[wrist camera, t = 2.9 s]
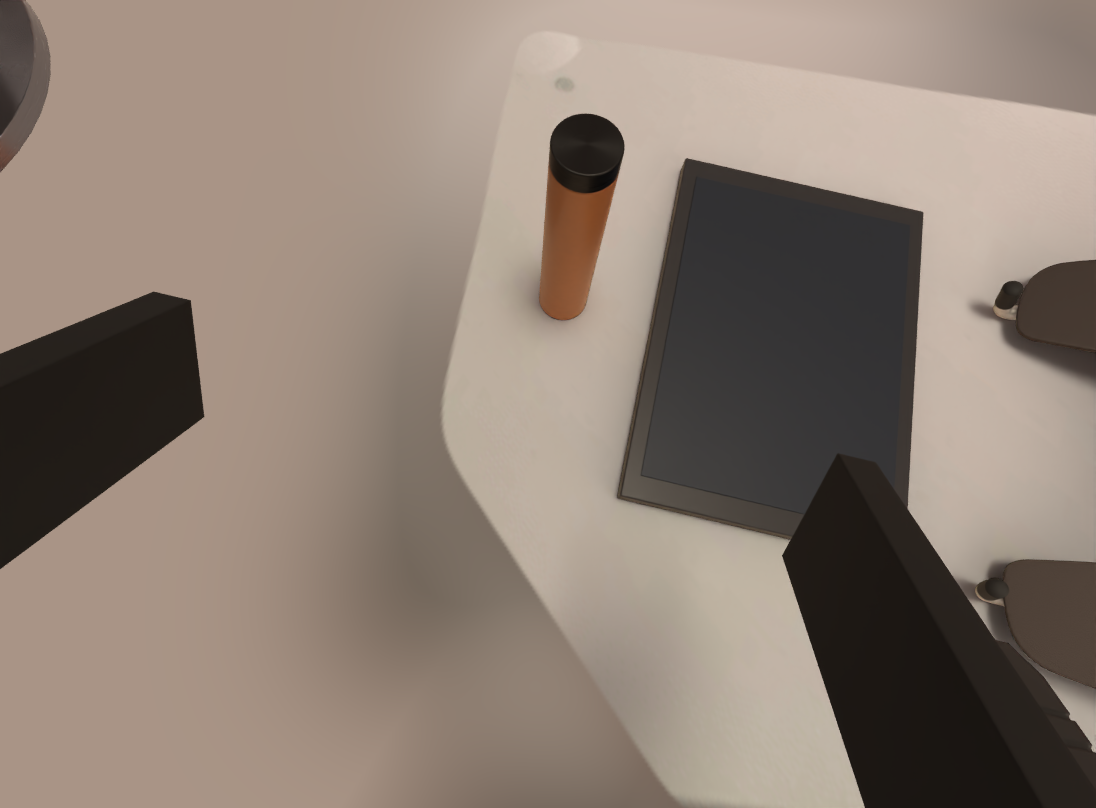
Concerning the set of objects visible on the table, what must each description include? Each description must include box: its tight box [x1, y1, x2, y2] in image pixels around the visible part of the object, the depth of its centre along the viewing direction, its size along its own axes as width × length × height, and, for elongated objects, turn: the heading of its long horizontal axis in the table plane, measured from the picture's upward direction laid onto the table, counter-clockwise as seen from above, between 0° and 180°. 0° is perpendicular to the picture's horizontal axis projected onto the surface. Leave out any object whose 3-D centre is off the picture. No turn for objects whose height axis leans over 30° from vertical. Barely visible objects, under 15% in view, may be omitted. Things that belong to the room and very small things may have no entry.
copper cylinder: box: [539, 114, 624, 320], centre depth 26 cm, size 3×3×12 cm
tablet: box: [617, 158, 923, 539], centre depth 31 cm, size 14×20×1 cm
